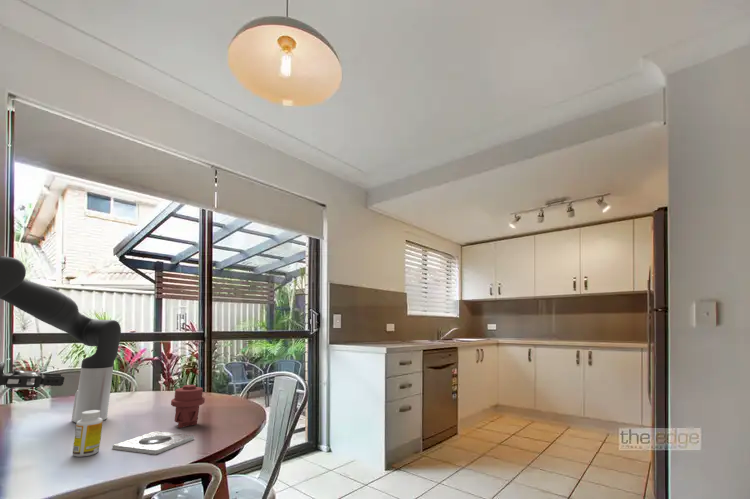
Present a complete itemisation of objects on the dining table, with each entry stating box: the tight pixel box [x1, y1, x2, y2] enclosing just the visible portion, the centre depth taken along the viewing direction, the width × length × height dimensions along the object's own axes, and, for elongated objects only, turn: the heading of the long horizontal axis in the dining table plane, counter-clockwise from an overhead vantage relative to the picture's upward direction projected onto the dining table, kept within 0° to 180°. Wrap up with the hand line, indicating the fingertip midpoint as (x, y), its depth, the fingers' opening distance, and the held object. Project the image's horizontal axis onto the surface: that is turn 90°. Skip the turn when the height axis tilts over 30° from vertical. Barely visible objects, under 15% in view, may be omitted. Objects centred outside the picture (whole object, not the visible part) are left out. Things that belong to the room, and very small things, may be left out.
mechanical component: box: [170, 384, 206, 429], centre depth 131 cm, size 12×10×10 cm
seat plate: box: [112, 430, 195, 456], centre depth 110 cm, size 14×14×1 cm
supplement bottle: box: [72, 410, 104, 458], centre depth 102 cm, size 6×6×10 cm
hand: (61, 379), depth 100 cm, fingers open, 8 cm apart
